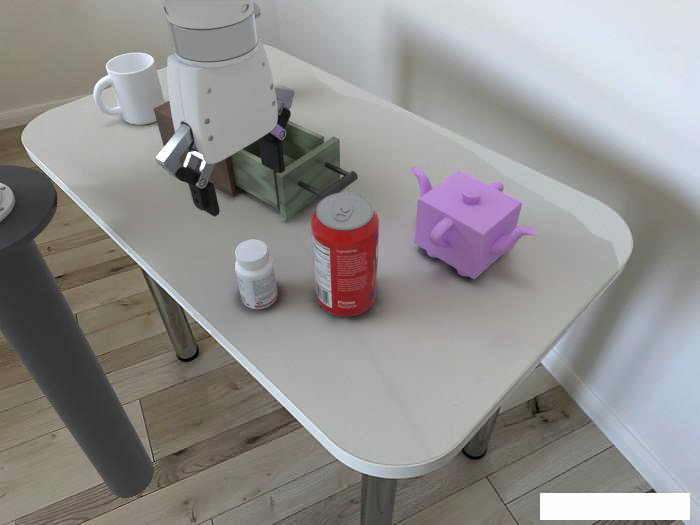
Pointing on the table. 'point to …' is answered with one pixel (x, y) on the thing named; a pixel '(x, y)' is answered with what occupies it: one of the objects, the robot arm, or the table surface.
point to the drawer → (293, 171)
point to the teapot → (466, 222)
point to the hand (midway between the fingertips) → (242, 188)
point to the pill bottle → (255, 274)
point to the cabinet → (221, 169)
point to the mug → (132, 88)
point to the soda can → (345, 253)
